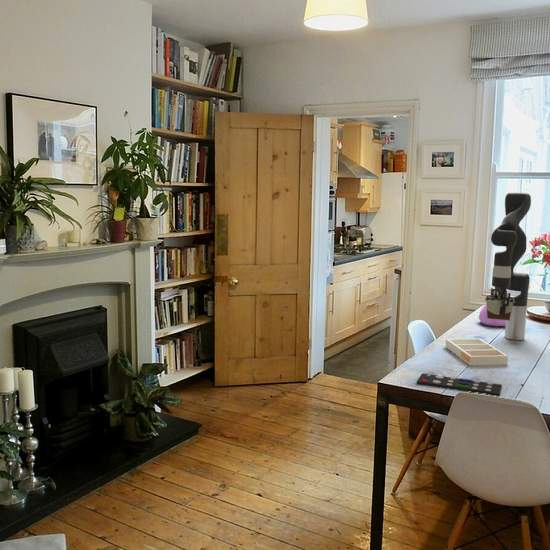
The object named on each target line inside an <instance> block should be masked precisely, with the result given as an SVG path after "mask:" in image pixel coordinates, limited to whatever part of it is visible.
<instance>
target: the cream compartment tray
mask: <svg viewBox="0 0 550 550" xmlns="http://www.w3.org/2000/svg"><path fill="white" fill-rule="evenodd" d="M445 348H446V349H447V348H448V350H449V351H450V350H451V351H452V353H453V354H454V353H455V354H456V356H457V358H459V357H460V358H459V359H461V361H463V360H464V363H466V364H467V363H468V364H467V365H469V366H470V365H473V366H508V361H509V355H507V354H506V353H504V352H502V351H501V350H499V349H498V348H496V347H494V346H493V345H491V344H490V343H488V342H486V341H485V340H483V339H482V338H446V339H445ZM455 354H454V355H455Z"/></svg>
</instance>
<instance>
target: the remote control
mask: <svg viewBox="0 0 550 550" xmlns="http://www.w3.org/2000/svg"><path fill="white" fill-rule="evenodd" d="M416 385H421V386H426V387H427V386H428V387H434V388H435V387H436V388H440V387H442V389H447V388H449V389H448V390H454V389H457V390H456V391H461V392H468V391H471V392H470V393H475V392H478V393H477V394H481V393H486V394H485V395H488V394H490V395H489V396H495V395H496V397H500V395H501V390H502V387H503V386H502V384H499V383H493V382H488V381H487V382H486V381H481V380H480V381H479V380H472V379H467V378H457V377H453V376H452V377H450V376H445V375H439V374H438V375H436V374H431V373H430V374H429V373H421V374H420V375H419V377H418V379H417V380H416Z"/></svg>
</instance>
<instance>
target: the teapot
mask: <svg viewBox="0 0 550 550" xmlns="http://www.w3.org/2000/svg"><path fill="white" fill-rule="evenodd" d="M478 320H479V321H480V323H481V324H483V325H485V326H491V327H492V326H493V327H498V326H502V327H505V324H506V320H496V319H487V304H486V303H485V304H484V305H483V306H482V308H481V309H480V312H479V314H478Z"/></svg>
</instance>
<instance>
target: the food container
mask: <svg viewBox="0 0 550 550" xmlns="http://www.w3.org/2000/svg"><path fill="white" fill-rule="evenodd" d="M513 297H514V296H510V301H509V306H507V307H506V310H505V315H500V307H501V306H500V302H499V301H498V298H496V297H495V298H494V297H493V295H491V294H489V295H486V297H485V299H484V301H485V304H487V319H496V320H507V321H510V317H511V312H512V307H513V302H514V303H515V300H514V298H513ZM502 303H503V302H502ZM506 303H507V301H506Z"/></svg>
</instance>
